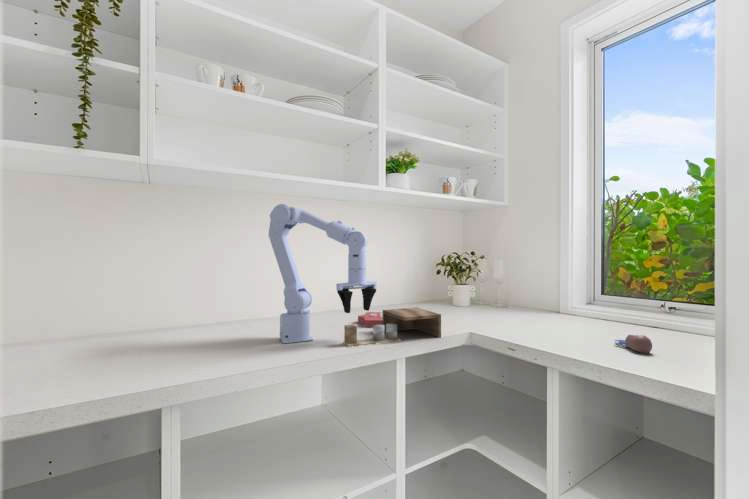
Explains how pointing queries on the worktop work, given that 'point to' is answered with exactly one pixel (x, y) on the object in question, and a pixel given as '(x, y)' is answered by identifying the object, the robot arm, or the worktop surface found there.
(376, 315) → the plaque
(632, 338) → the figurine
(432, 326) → the wooden crate block
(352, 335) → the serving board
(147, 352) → the worktop surface
